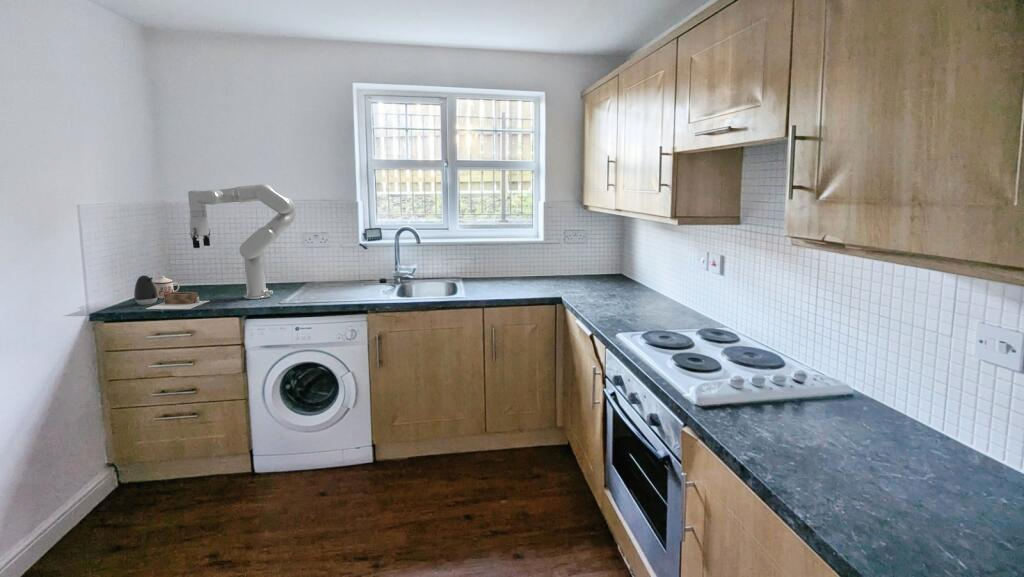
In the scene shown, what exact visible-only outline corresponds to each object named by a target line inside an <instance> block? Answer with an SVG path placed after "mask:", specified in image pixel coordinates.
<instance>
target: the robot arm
mask: <svg viewBox="0 0 1024 577" xmlns="http://www.w3.org/2000/svg"><path fill="white" fill-rule="evenodd" d="M187 198H188V207H189V215H190V218H189V235H190V238H191V241H192V247H193V249H201V245H200V240H199V239H200V237H203V238H202V241H203V246H204V247H210V246H211V241H210V240H211V229H210V227H209V222H208V218H207V217H208V216H207V205H209V206H213V205H214V206H215V205H218V204H220V205H221V204H229V203H230V204H231V203H250V202H261V203H262V204H264V205H265V206H267V207H268V208H269V209H271V210H273V211H274V212H276V213H277V214H276V215H275V216H274V217H272V219H271V220H270V221H269V222H268V223H267V224H265V225H264V226H262V227H260V228H258V229H257V230H255V231H254V232H253V233H252V234H251V235H250V236H248V238H246V239H245V240H244V241H243V242H242V243H241V245H240V246H239V250H238V251H239V255H240V256H241V257H242V258H244V260H243V262H244V274H245V283H246V284H245V285H246V294H245V295H244V296H243V298H244V299H247V300H259V299H260V298H261V299H265V298H269V297H270V295H273V294H274V291H273V289H271V290H269V288H268V287H266V275H265V262H264V261H265V260H264V258H265V256H264V250H265V249H267V247H269V246H270V245H271V244H272V243H274V242H275V240H276V239H277V238H278V237H279V236H280V235H281V234H282V233H284V232H285V231H286V230H287V229H288V228H289V227H290V225H291V224H292V223H293V222H294V220H295V218H296V205H295V203H294V201H293V200H292V199H291V198H290V197H286V196H282V195H281V194H279V193H277V192H276V191H275V190H274V189H273V187H272V186H271V185H269V184H267V183H261V184H260V183H259V184H253V185H252V184H250V185H240V186H236V187H231V188H230V187H229V188H221V189H219V188H218V189H207V190H197V189H196V190H193V189H192V190H188V192H187Z"/></svg>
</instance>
